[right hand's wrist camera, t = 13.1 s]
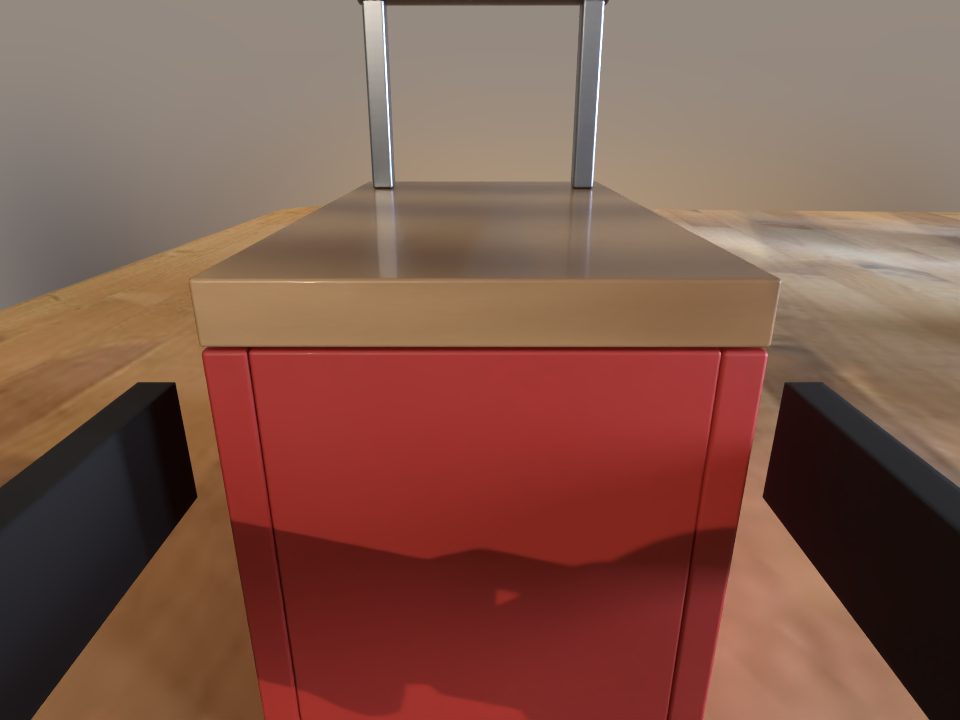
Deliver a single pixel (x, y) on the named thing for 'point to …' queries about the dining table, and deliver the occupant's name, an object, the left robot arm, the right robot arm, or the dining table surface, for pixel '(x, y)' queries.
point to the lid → (484, 254)
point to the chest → (484, 525)
